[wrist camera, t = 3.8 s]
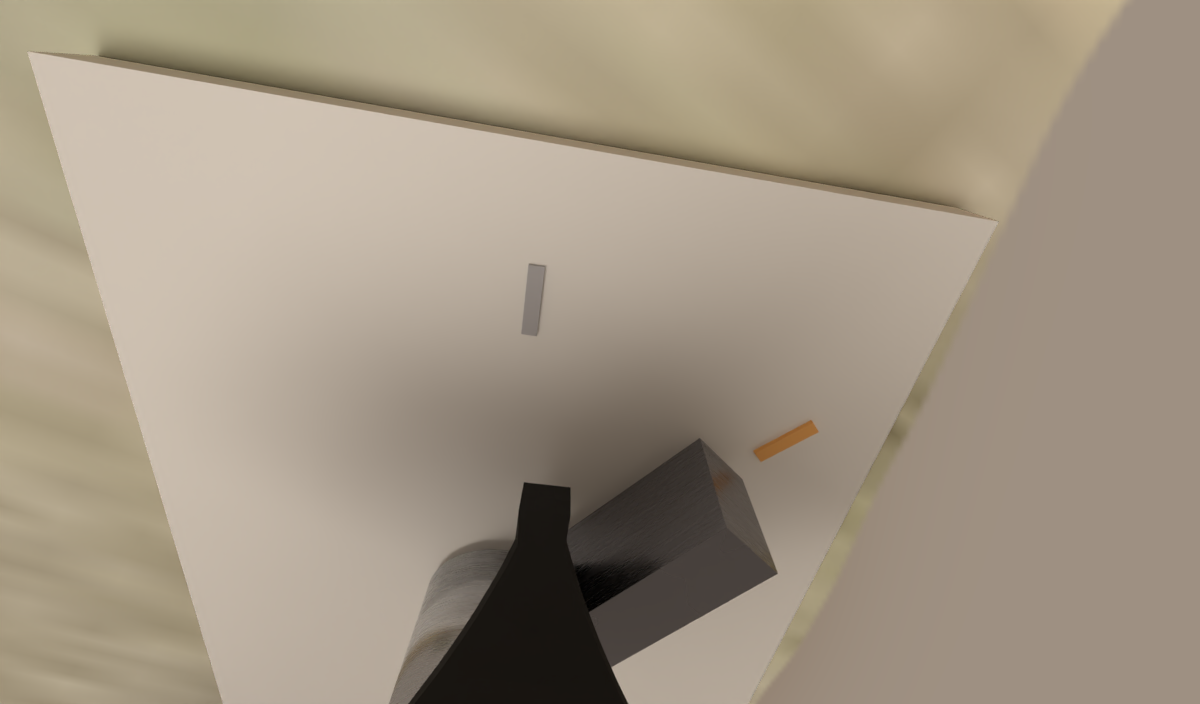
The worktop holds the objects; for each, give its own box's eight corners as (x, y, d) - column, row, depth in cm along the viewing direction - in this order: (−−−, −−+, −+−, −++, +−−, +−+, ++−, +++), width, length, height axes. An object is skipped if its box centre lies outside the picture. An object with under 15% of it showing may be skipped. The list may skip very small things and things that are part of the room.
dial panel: (715, 713, 18) (724, 755, 17) (249, 673, 17) (223, 716, 16) (956, 207, 10) (1002, 222, 9) (95, 55, 9) (21, 51, 8)
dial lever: (503, 659, 14) (480, 801, 11) (398, 597, 13) (344, 739, 10) (766, 496, 12) (821, 629, 9) (665, 398, 10) (692, 515, 8)
